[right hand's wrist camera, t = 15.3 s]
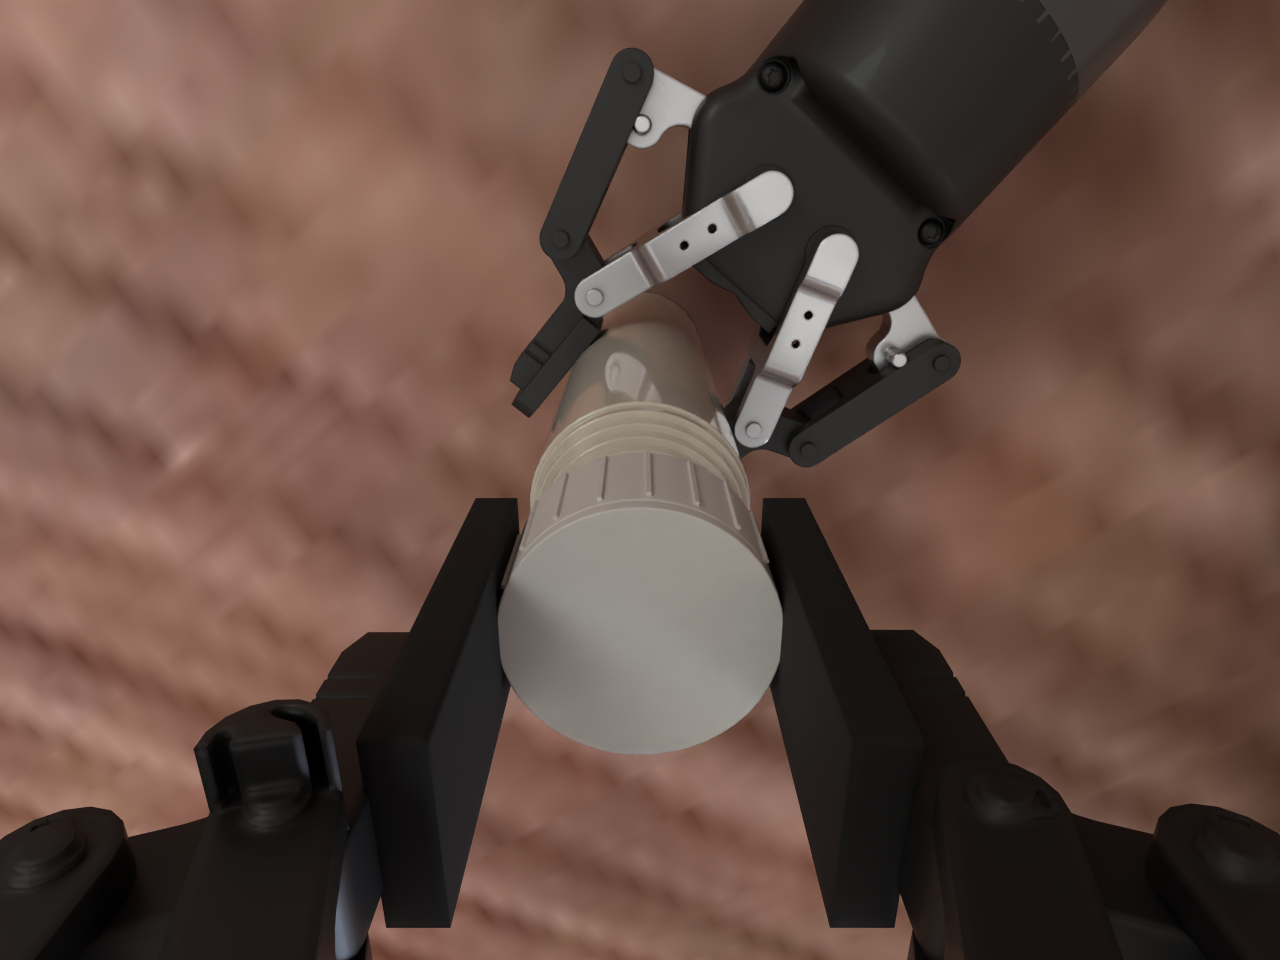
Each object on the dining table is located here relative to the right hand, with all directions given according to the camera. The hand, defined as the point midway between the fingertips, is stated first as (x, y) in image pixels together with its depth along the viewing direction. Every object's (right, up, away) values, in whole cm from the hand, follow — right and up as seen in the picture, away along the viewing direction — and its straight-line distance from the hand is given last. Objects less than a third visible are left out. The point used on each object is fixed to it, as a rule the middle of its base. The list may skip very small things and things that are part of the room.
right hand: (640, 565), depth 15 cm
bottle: (0, +7, +17) cm, 18 cm away
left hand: (-2, +2, +12) cm, 12 cm away
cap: (0, -1, -2) cm, 2 cm away
